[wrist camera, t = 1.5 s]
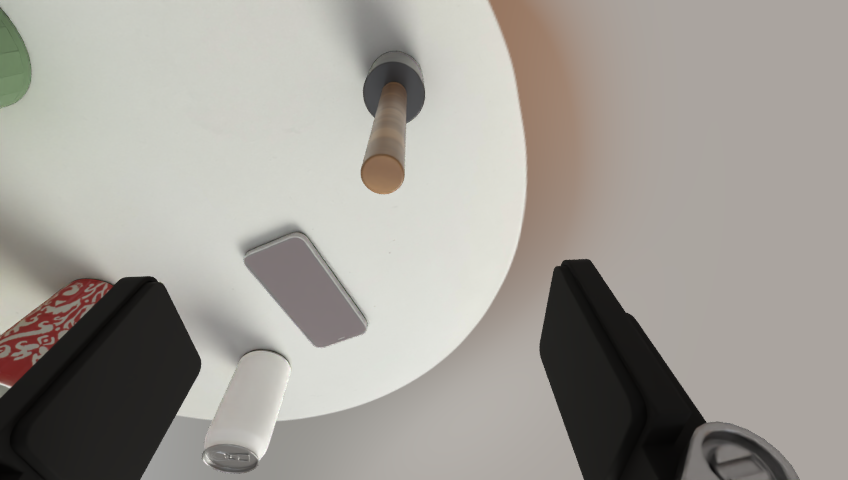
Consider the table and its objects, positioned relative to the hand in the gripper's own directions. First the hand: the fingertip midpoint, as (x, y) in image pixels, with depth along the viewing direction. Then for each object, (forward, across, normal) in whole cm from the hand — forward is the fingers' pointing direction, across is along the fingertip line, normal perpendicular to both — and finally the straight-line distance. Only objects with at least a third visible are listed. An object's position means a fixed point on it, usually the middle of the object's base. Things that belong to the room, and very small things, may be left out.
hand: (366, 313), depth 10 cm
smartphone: (+27, +11, +21) cm, 36 cm away
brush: (+27, 0, -1) cm, 27 cm away
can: (+27, +19, +33) cm, 47 cm away
